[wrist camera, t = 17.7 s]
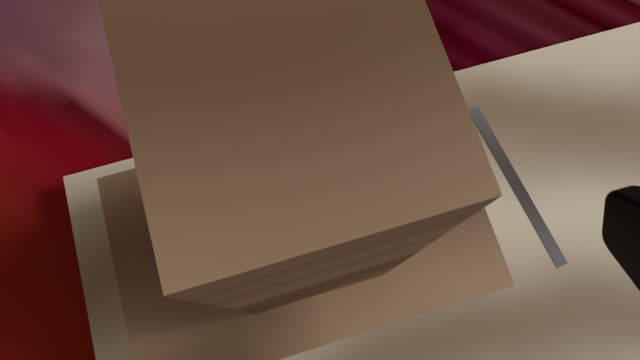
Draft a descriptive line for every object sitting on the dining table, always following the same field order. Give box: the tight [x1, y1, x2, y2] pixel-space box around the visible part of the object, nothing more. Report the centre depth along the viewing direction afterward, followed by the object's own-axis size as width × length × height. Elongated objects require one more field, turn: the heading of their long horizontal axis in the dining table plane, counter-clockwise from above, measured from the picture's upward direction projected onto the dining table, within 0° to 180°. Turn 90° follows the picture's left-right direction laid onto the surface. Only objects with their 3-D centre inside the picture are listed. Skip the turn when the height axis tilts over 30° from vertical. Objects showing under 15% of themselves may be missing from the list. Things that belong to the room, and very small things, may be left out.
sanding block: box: [97, 0, 515, 360], centre depth 11 cm, size 6×10×12 cm, turn 107°
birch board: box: [63, 22, 640, 360], centre depth 17 cm, size 19×26×2 cm
